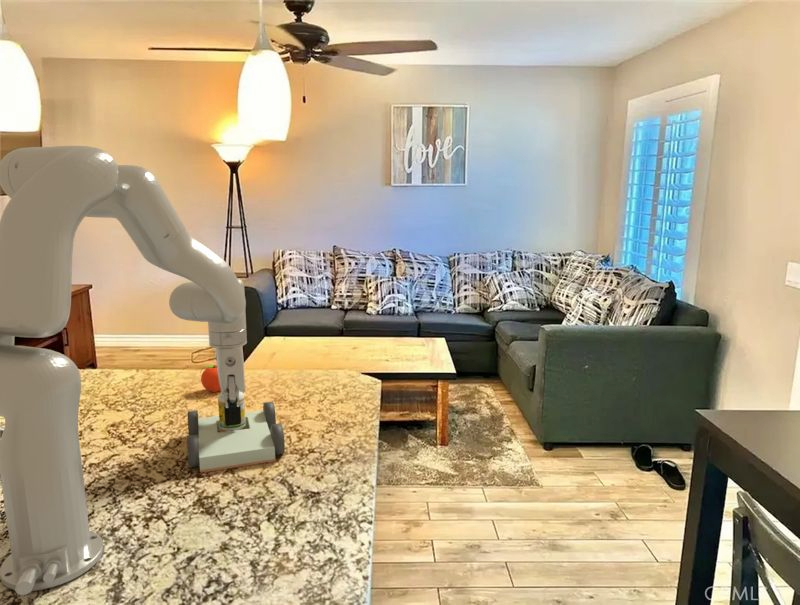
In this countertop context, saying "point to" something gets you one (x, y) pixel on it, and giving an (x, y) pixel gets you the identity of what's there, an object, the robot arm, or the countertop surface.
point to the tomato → (210, 378)
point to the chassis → (234, 441)
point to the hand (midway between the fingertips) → (232, 418)
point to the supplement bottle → (222, 414)
